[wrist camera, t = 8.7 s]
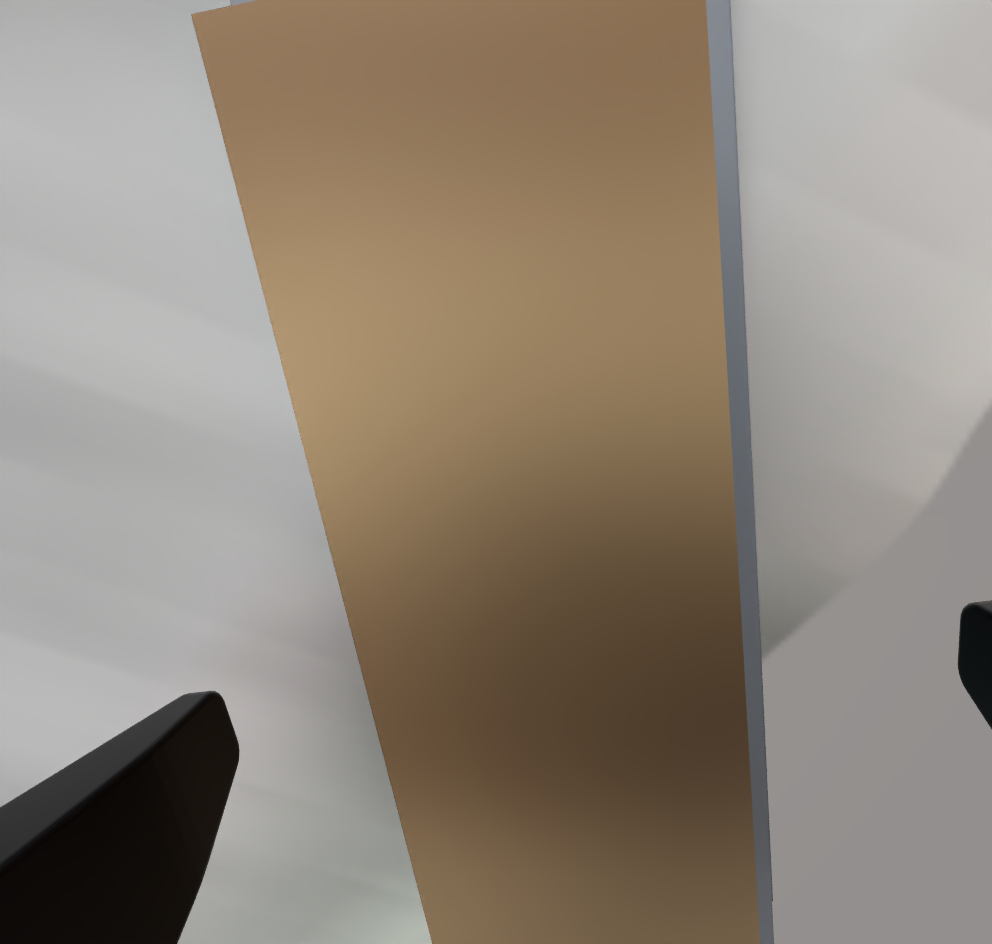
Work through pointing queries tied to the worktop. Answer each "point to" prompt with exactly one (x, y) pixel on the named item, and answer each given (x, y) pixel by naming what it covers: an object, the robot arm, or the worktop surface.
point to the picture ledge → (738, 430)
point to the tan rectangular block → (516, 437)
